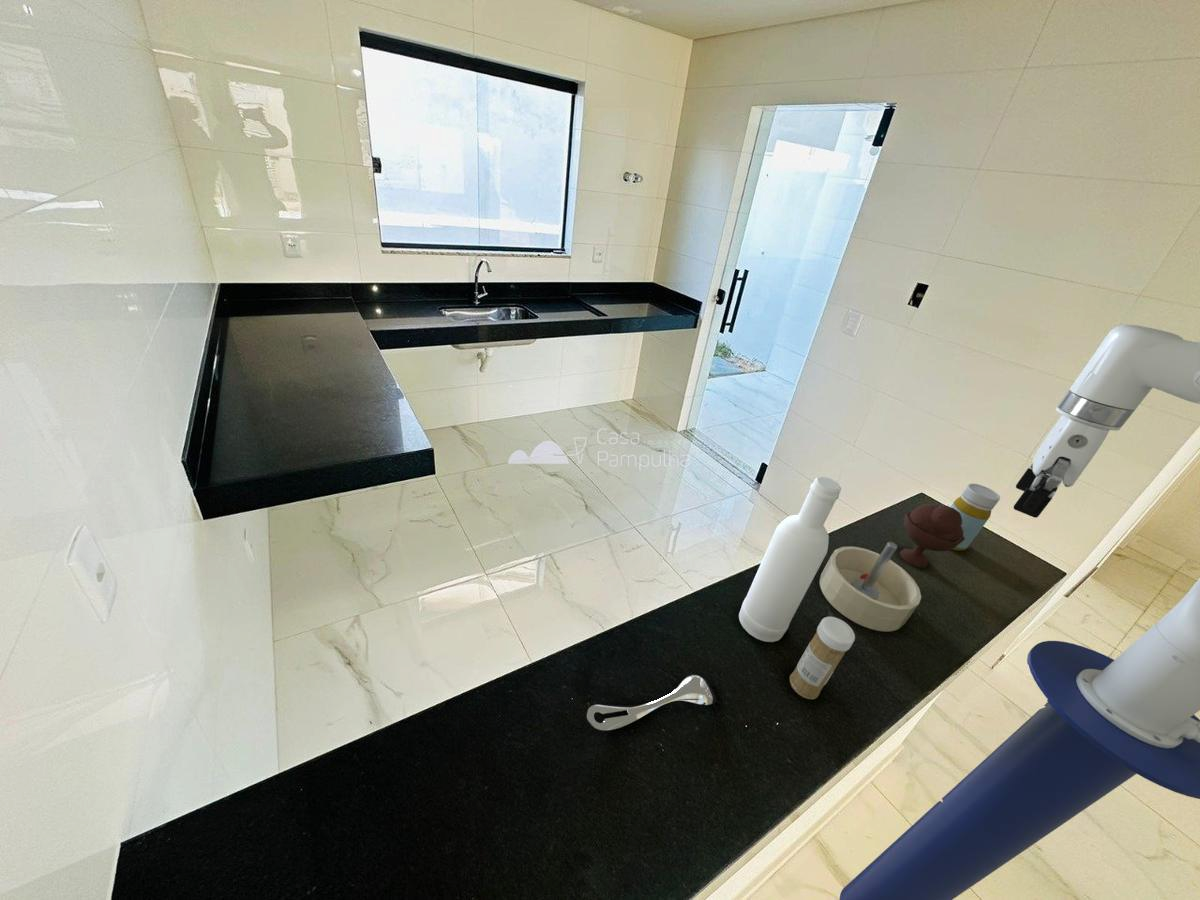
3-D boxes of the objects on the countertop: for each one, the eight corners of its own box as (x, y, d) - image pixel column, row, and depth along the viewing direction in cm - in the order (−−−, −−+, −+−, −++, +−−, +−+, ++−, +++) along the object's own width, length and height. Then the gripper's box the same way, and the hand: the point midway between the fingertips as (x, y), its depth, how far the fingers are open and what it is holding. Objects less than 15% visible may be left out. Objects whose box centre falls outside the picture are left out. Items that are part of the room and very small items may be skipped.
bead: (876, 579, 92) (875, 576, 90) (870, 589, 91) (869, 587, 90) (863, 572, 93) (862, 570, 91) (857, 583, 93) (856, 581, 91)
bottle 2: (967, 543, 111) (1004, 493, 103) (963, 556, 106) (1001, 505, 98) (935, 528, 114) (968, 478, 107) (929, 540, 110) (963, 489, 102)
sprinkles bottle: (825, 694, 70) (863, 637, 63) (803, 704, 68) (841, 646, 61) (802, 668, 74) (836, 611, 67) (781, 677, 72) (814, 619, 65)
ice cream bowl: (948, 566, 102) (987, 513, 95) (926, 583, 96) (966, 528, 88) (901, 536, 109) (933, 485, 102) (878, 550, 103) (910, 497, 96)
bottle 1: (756, 648, 76) (828, 503, 61) (729, 610, 82) (788, 470, 67) (793, 637, 79) (870, 496, 64) (764, 601, 85) (828, 465, 70)
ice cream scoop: (595, 727, 57) (584, 691, 61) (589, 743, 59) (579, 707, 62) (727, 695, 65) (710, 665, 68) (719, 710, 66) (703, 680, 70)
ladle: (876, 594, 90) (908, 545, 83) (872, 609, 86) (905, 558, 80) (851, 581, 92) (880, 532, 86) (846, 595, 89) (876, 544, 82)
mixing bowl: (912, 601, 91) (928, 579, 88) (894, 647, 80) (911, 624, 77) (833, 557, 99) (845, 535, 96) (807, 593, 88) (819, 571, 85)
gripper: (1134, 436, 61) (1054, 534, 70) (1119, 406, 73) (1052, 493, 82) (1063, 414, 65) (995, 510, 74) (1059, 389, 77) (1001, 474, 86)
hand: (1025, 501), depth 78 cm, fingers open, 9 cm apart
